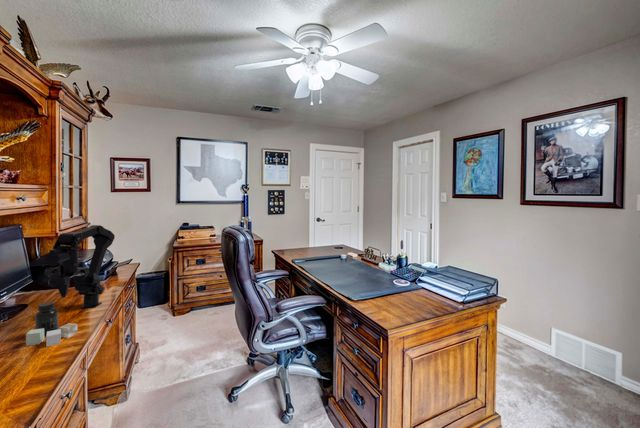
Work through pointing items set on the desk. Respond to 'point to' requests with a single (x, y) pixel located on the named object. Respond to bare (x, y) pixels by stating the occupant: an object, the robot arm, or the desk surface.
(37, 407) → the desk surface
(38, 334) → the sage block
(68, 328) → the birch block
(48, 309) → the supplement bottle
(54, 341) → the grey plastic block
